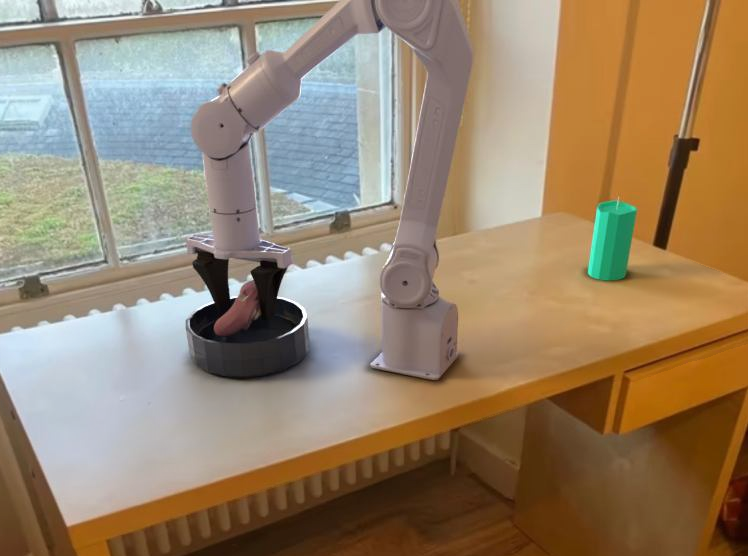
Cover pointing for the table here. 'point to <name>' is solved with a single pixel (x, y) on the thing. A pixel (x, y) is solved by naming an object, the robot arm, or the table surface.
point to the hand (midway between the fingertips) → (245, 312)
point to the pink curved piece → (240, 312)
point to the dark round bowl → (249, 341)
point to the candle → (611, 240)
